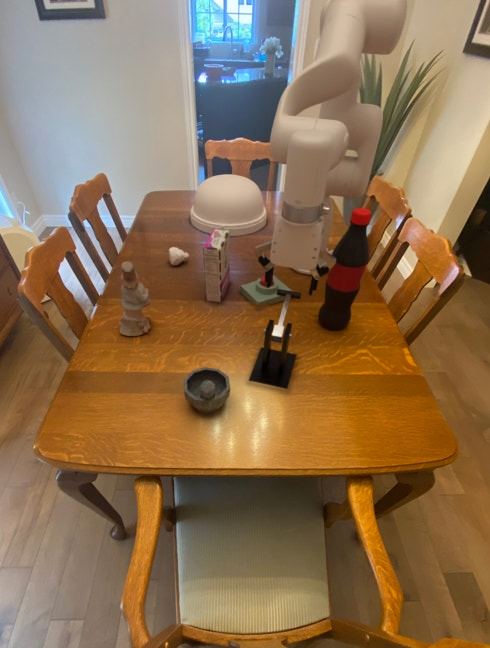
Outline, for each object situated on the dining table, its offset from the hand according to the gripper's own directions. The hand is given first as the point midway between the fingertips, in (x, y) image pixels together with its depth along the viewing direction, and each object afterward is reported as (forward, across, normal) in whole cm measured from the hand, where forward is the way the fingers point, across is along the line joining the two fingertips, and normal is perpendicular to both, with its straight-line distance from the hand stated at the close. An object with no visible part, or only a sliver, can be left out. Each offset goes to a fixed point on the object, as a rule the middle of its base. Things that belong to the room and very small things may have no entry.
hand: (290, 288), depth 83 cm
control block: (+16, +9, -20) cm, 27 cm away
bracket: (+15, 0, +11) cm, 19 cm away
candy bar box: (+16, +23, -16) cm, 33 cm away
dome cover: (+17, +35, -67) cm, 78 cm away
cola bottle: (+16, -12, -11) cm, 23 cm away
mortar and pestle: (+15, +11, +27) cm, 33 cm away
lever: (+4, 0, +6) cm, 7 cm away
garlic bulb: (+16, +40, -29) cm, 52 cm away
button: (+13, +9, -20) cm, 25 cm away
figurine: (+16, +38, +6) cm, 42 cm away
